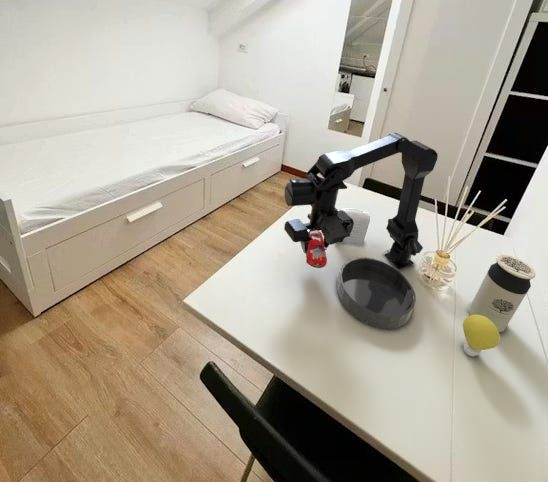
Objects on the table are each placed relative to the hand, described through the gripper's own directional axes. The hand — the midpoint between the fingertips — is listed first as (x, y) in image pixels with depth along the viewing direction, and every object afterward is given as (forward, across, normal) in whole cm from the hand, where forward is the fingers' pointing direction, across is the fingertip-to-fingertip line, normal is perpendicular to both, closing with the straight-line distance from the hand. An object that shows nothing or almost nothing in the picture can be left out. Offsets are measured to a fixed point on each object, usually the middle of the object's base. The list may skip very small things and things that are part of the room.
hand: (315, 249), depth 81 cm
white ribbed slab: (+8, +20, +8) cm, 23 cm away
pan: (+8, +12, -13) cm, 19 cm away
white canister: (+8, +36, -29) cm, 47 cm away
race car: (+1, 0, 0) cm, 1 cm away
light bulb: (+8, +23, -33) cm, 41 cm away
